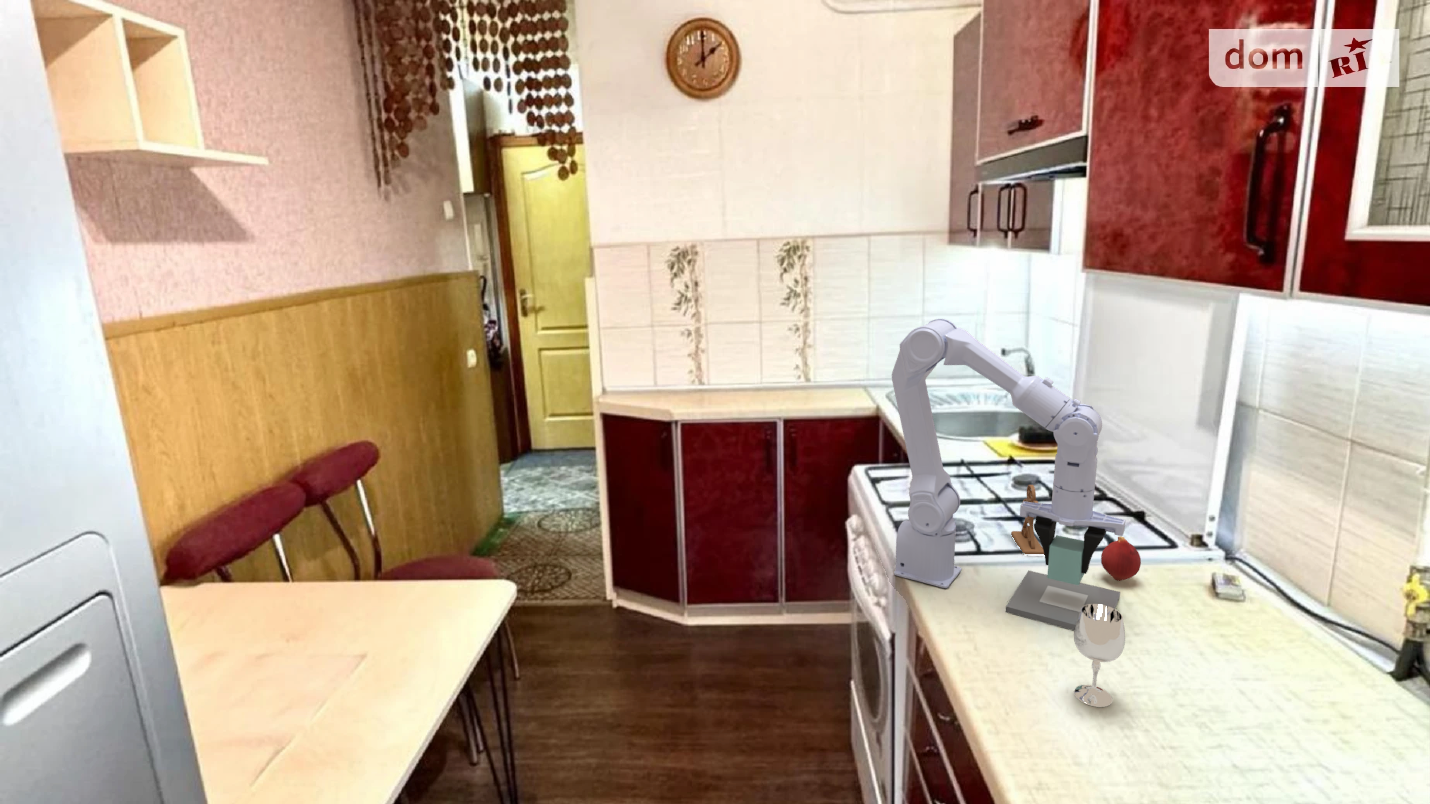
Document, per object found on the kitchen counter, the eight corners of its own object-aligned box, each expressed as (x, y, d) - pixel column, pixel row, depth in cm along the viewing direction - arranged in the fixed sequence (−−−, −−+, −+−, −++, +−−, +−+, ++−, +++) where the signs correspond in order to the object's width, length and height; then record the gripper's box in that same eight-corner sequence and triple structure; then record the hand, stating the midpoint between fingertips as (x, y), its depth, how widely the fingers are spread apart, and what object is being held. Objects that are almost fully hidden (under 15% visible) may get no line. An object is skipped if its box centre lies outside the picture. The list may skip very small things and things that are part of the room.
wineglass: (1114, 686, 98) (1123, 604, 95) (1121, 714, 92) (1131, 628, 89) (1066, 679, 99) (1073, 599, 96) (1071, 706, 94) (1078, 621, 91)
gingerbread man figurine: (1010, 535, 143) (1014, 476, 140) (1031, 535, 142) (1035, 477, 139) (1023, 556, 134) (1027, 494, 131) (1045, 556, 134) (1050, 494, 131)
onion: (1129, 572, 127) (1134, 529, 125) (1144, 589, 121) (1150, 544, 119) (1093, 572, 127) (1097, 529, 125) (1107, 588, 122) (1112, 544, 120)
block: (1047, 578, 116) (1049, 545, 114) (1053, 566, 119) (1056, 535, 118) (1078, 585, 113) (1081, 552, 112) (1084, 573, 117) (1087, 541, 115)
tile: (1005, 612, 116) (1005, 605, 116) (1028, 575, 127) (1028, 569, 127) (1104, 638, 108) (1105, 632, 108) (1119, 597, 119) (1120, 591, 119)
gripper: (1017, 485, 114) (1011, 565, 117) (1123, 503, 105) (1114, 589, 109) (1028, 471, 119) (1023, 548, 122) (1130, 487, 111) (1121, 570, 114)
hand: (1066, 566), depth 116 cm, fingers closed on block, 4 cm apart
